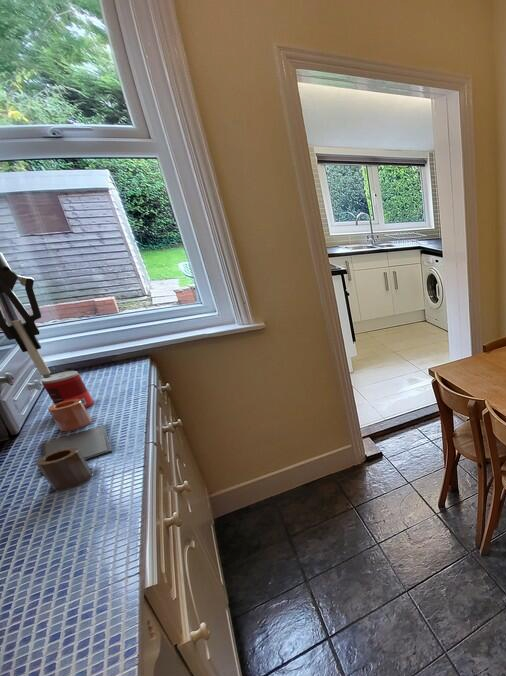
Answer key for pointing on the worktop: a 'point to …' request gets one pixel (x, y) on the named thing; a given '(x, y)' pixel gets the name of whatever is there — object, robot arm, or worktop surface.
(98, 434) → the tablet
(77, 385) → the canned food
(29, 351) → the cream long square bar
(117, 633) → the worktop surface
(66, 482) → the stand
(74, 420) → the pen holder
